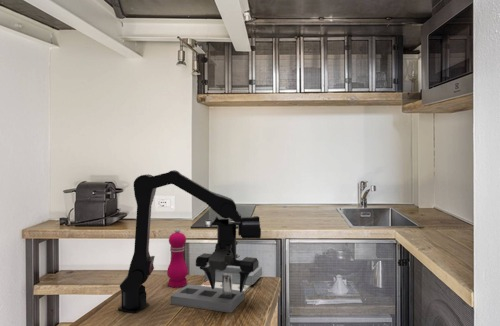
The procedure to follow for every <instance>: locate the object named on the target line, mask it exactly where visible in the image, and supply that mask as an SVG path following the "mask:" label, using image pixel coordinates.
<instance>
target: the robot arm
mask: <svg viewBox="0 0 500 326" xmlns="http://www.w3.org/2000/svg"><path fill="white" fill-rule="evenodd" d="M168 185H174V186H175V187H177V188H179V189H180V190H183V191H184V192H186V193H188V194H189V195H191V196H193V197H195V198H197V199H198V200H200V201H202V202H203V203H204V204H206V205H207V206H208V207H209V208H211V210H213V211H214V212H215V213H216V214H218V215H219V216H220V217H221V218H219V217H218V216H215V218H214V219H213V220H211V226H216V227H217V234H216V235H217V238H216V241H217V243H216V244H215V247H214V248H215V249H214V251H213V252H212V253H202V254H200V255H199V256H197V257H196V258H195V267H199V269H200V270H202V271H203V272H204V274H205V273H206V275H207V277H208V279H209V282H210V285H211V287H212V289H214V288H215V270H220V271H223V270H225V269H226V267H227V266H239V267H240V269H241V271H240V272H239V273H240V292H242V291H243V288H244V285H245V283H246V280H247V277H248V275H249V274H250V273H251V272H253V271H255V270H256V269H257V268H258V267H260V265H259V260H258V257H248V256H245V257H244V258H243V259H237V258H238V257H239V256H238V255H239V254H237V246H238V243H239V242H238V240H237V235H238V237H240V238H241V239H242V240H251V239H252V240H255V239H261V235H262V228H261V222H260V217H259V215H253V216H242V214H241V213H239V211H238V210H237V205H236V203H235V200H234V199H232V197H228V196H225V195H222V194H221V193H216V192H214V191H211V190H209V189H208V188H206V187H205V186H203V185H201V184H199V183H197V182H196V181H194V180H193V179H190V178H189V177H187V176H185V175H184V174H181V172H180V171H178V170H176V169H175V170H169V171H168V172H165V173H159V174H158V175H152V174H147V173H146V174H141V175H140V176H139V175H138V176H137V177H136V178H135V179H134V181H133V191H134V192H133V193H134V198H135V202H136V219H135V220H136V221H135V231H134V232H135V233H134V234H135V235H134V250H133V255H132V258H131V261H130V264H129V267H128V273H127V276H126V277H125V278H124V280H123V281H122V282H121V283H120V284H119V288H120V291H121V293H120V294H121V296H120V298H121V299H120V301H121V303H120V304H121V306H119V307H118V308H117V310H118V311H122V312H128V313H134V314H135V313H138V312H139V311H141V310H143V309H144V308H146V307H148V306H149V302H147V291H146V285H143V284H145V283H146V282H147V280H148V279H149V277H150V276H151V274H152V272H153V271H154V270H155V267H154V261H155V257H156V256H155V255H150V251H149V250H150V234H151V233H150V231H151V217H152V204H153V202H154V199H155V195H156V192H157V188H161V187H166V186H168ZM229 219H230V220H231V221H230V220H229Z"/></svg>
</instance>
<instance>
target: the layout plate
mask: <svg viewBox="0 0 500 326" xmlns="http://www.w3.org/2000/svg"><path fill="white" fill-rule="evenodd" d="M200 286H207V287H211V285H210V282H209V280H206V281H205V282H202V283H201V285H200ZM251 286H252V285H248V284H245V285H244V288H243V291H244V293H245V292H246V291H247V290H248V289H249V288H250V287H251ZM215 288H222V281H215ZM232 290H239V291H240V284H239V283H232Z"/></svg>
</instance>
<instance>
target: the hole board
mask: <svg viewBox="0 0 500 326" xmlns="http://www.w3.org/2000/svg"><path fill="white" fill-rule="evenodd" d="M244 300H245V292H244V291H242V292H240V291H239V290H232V299H223V298H222V288H214V289H212V287H207V286H201V285H197V284H189V283H188V284H186V285H185V286H183V287H181V288H180V289H179V290H177V291H175V292H174V293H173V294H171V295H170V305H174V306H180V307H182V306H183V307H189V308H195V309H203V310H208V311H215V312H222V313H230V314H231V313H232V312H233V311H234V310H235V309H236V308H237V307H238V306H239V305H241V303H242V302H243V301H244Z"/></svg>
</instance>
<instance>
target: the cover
mask: <svg viewBox="0 0 500 326" xmlns="http://www.w3.org/2000/svg"><path fill="white" fill-rule="evenodd" d="M240 271H241V269H240V267H239V266H227V267H226V269H225V270H223V271H220V270H215V281H222V274H225V273H230V274H232V283H239V284H240V273H239V272H240ZM261 276H263V266H259V267H258V268H257V269H256V270H255V271H253V272H251V273H250V274H249V275H248V277H247V280H246V283H245V284H248V285H251V286H252V285H254V284H255V283H256V282H257V281H258V280H259V279H260V278H261ZM205 280H206V281H208V280H209V279H208V277H207V275H206V273H205V272H204V281H205Z"/></svg>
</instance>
